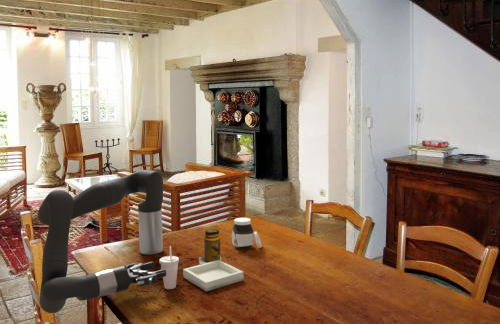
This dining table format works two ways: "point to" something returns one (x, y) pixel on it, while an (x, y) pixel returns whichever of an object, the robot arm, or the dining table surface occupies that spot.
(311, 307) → the dining table surface
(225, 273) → the tray
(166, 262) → the smoothie
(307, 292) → the dining table surface
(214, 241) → the condiment
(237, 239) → the spread jar
